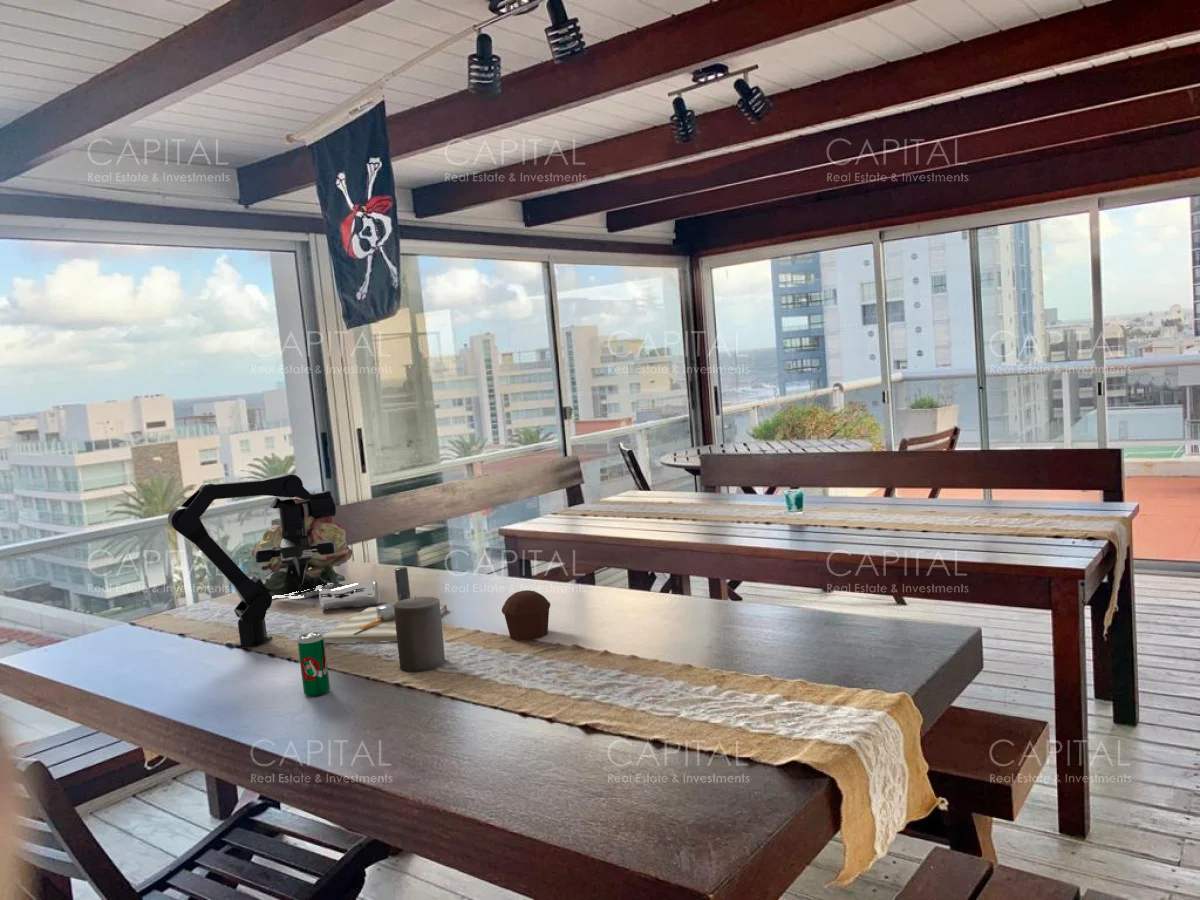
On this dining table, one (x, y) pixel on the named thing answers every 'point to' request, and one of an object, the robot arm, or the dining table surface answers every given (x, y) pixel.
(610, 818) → the dining table surface
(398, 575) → the cam lever
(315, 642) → the soda can
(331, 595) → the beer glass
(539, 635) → the muffin
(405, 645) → the pillar candle
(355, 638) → the dial board
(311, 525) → the rose bouquet
